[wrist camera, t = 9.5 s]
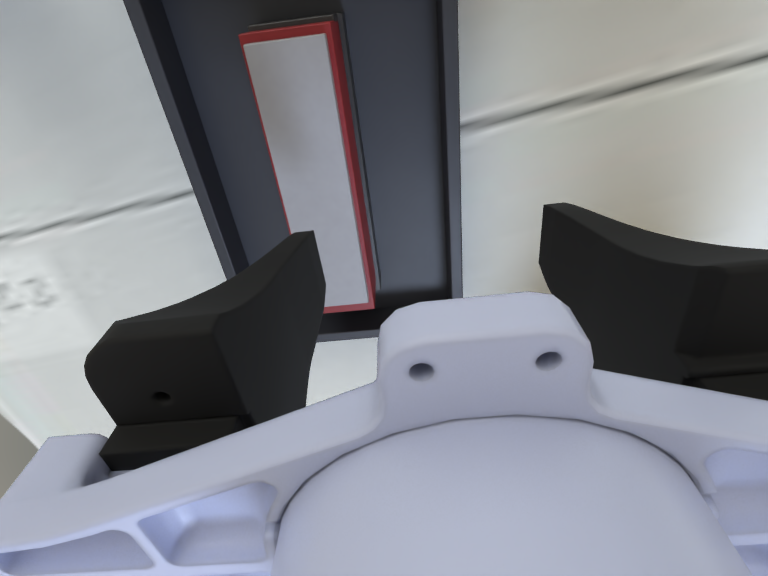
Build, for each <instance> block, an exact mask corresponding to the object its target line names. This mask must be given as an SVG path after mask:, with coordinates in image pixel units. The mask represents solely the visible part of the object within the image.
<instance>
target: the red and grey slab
mask: <svg viewBox="0 0 768 576" xmlns="http://www.w3.org/2000/svg"><path fill="white" fill-rule="evenodd" d="M248 31H249V32H246V33H242V34H239V35H238V36H239V40H240V44H241V48H242V52H243V56H244V60H245V63H246V67H247V71H248V75H249V79H250V83H251V87H252V90H253V94H254V98H255V102H256V106H257V110H258V114H259V117H260V121H261V125H262V129H263V133H264V137H265V141H266V144H267V148H268V152H269V156H270V160H271V164H272V168H273V171H274V175H275V179H276V183H277V187H278V191H279V195H280V198H281V202H282V206H283V210H284V214H285V218H286V222H287V226H288V229H289V233H290V235H291V234H293V233H295V232H303V231H312V230H314V234H315V238H316V243H317V247H318V251H319V256H320V260H321V264H322V268H323V273H324V277H325V281H326V293H325V305H324V311H323V313H334V312H345V311H356V310H367V309H375V290H381V272H380V265H379V258H378V251H377V243H376V236H375V229H374V222H373V215H372V207H371V200H370V193H369V186H368V179H367V171H366V164H365V157H364V150H363V143H362V135H361V128H360V121H359V114H358V107H357V99H356V92H355V85H354V78H353V71H352V63H351V56H350V49H349V42H348V34H347V27H346V20H345V13H344V12H337V13H330V14H323V15H315V16H308V17H301V18H293V19H286V20H279V21H271V22H264V23H257V24H253V25H249V26H248Z"/></svg>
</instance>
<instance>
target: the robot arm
mask: <svg viewBox="0 0 768 576" xmlns="http://www.w3.org/2000/svg"><path fill="white" fill-rule="evenodd" d="M539 265H540V267H541V270H542V273H543V276H544V278H545V281H546V283H547V286H548V288H549V290H550V291H551V293H552V294H544V293H536V292H518V293H508V294H498V295H487V296H477V297H467V298H457V299H446V300H436V301H426V302H418V303H415V304H412V305H409V306H406V307H403V308H400V309H397V310H395V311H394V312H393V313H392V314H391V315H390V316H389V317H388V318H387V319H386V320H385V321H384V322H383V323H382V324H381V327H380V333H379V338H378V347H377V379H376V380H375V381H374V382H373V383H370V384H367V385H364V386H362V387H359V388H356V389H353V390H351V391H348V392H345V393H342V394H340V395H337V396H334V397H331V398H329V399H326V400H323V401H321V402H318V403H315V404H312V405H310V406H307V407H306V397H307V388H308V379H309V371H310V366H311V361H312V356H313V352H314V348H315V344H316V340H317V336H318V332H319V328H320V324H321V320H322V316H323V311H324V305H325V293H326V281H325V277H324V273H323V268H322V264H321V260H320V256H319V251H318V247H317V243H316V238H315V234H314V230H312V231H303V232H295V233H293V234H291V235H290V236H288V237H287V238H286V239H284V240H283V241H282V242H281V243H279V244H278V245H277V246H275V247H274V248H273V249H272V250H270V251H269V252H268V253H267V254H265V255H264V256H263V257H262V258H260V259H259V260H257V261H256V262H255V263H253V264H252V265H250V266H249V267H248V268H246V269H245V270H243V271H242V272H240V273H239V274H237V275H236V276H234V277H232V278H231V279H229V280H227V281H225V282H223V283H222V284H220V285H218V286H216V287H214V288H212V289H210V290H207V291H205V292H203V293H201V294H199V295H197V296H194V297H192V298H190V299H187V300H185V301H182V302H180V303H177V304H174V305H171V306H168V307H165V308H162V309H159V310H156V311H153V312H149V313H146V314H142V315H138V316H134V317H131V318H127V319H123V320H119V321H115V322H114V323H113V324H112V326H111V327H110V328H109V329H108V331H107V332H106V333H105V334H104V335H103V337H102V338H101V339H100V340H99V341H98V343H97V344H96V345H95V346H94V348H93V349H92V350H91V351H90V352H89V354H88V355H87V357H86V361H85V364H84V369H85V376H86V379H87V381H88V383H89V384H90V386H91V388H92V390H93V392H94V393H95V394H96V396H97V397H98V399H99V400H100V402H101V403H102V405H103V406H104V407H105V409H106V410H107V412H108V413H109V415H110V416H111V418H112V419H113V420H114V422H115V423H116V425H117V426H116V428H115V429H114V431H113V432H112V434H111V436H110V437H109V439H108V438H107V437H105V436H102V435H100V434H92V433H91V434H79V435H66V436H54V437H49V438H48V439H47V440H46V441H45V442H44V444H43V445H42V446H41V448H40V449H39V450H38V452H37V453H36V454H35V455H34V457H33V458H32V459H31V461H30V462H29V463H28V464H27V466H26V467H25V468H24V470H23V471H22V472H21V474H20V475H19V476H18V477H17V479H16V480H15V481H14V482H13V484H12V485H11V486H10V488H9V489H8V490H7V492H6V493H5V494H4V495H3V497H2V498H1V499H0V576H768V250H765V249H752V248H740V247H730V246H721V245H714V244H708V243H701V242H695V241H689V240H684V239H679V238H674V237H670V236H666V235H662V234H657V233H654V232H650V231H646V230H643V229H640V228H637V227H634V226H630V225H627V224H624V223H622V222H619V221H616V220H613V219H611V218H608V217H605V216H603V215H600V214H597V213H595V212H592V211H589V210H587V209H584V208H581V207H579V206H576V205H572V204H569V203H556V204H547V205H544V207H543V219H542V230H541V242H540V254H539Z"/></svg>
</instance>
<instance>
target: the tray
mask: <svg viewBox="0 0 768 576" xmlns="http://www.w3.org/2000/svg"><path fill="white" fill-rule="evenodd" d="M123 1H124V4H125V7H126V9H127V12H128V15H129V18H130V20H131V23H132V26H133V28H134V31H135V34H136V36H137V39H138V42H139V44H140V47H141V50H142V53H143V55H144V58H145V61H146V63H147V66H148V69H149V71H150V74H151V77H152V79H153V82H154V85H155V88H156V90H157V93H158V96H159V98H160V101H161V104H162V106H163V109H164V112H165V115H166V117H167V120H168V123H169V125H170V128H171V131H172V133H173V136H174V139H175V141H176V144H177V147H178V150H179V152H180V155H181V158H182V160H183V163H184V166H185V168H186V171H187V174H188V176H189V179H190V182H191V185H192V187H193V190H194V193H195V195H196V198H197V201H198V203H199V206H200V209H201V211H202V214H203V217H204V220H205V222H206V225H207V228H208V230H209V233H210V236H211V238H212V241H213V244H214V246H215V249H216V252H217V255H218V257H219V260H220V263H221V265H222V268H223V271H224V273H225V276H226V279H227V280H229V279H231V278H232V277H234V276H236V275H237V274H239V273H240V272H242V271H243V270H245V269H246V268H248V267H249V266H250V265H252V264H253V263H255V262H256V261H257V260H259V259H260V258H262V257H263V256H264V255H265V254H267V253H268V252H269V251H270V250H272V249H273V248H274V247H275V246H277V245H278V244H279V243H281V242H282V241H283V240H284V239H286V238H287V237H288V236H290V233H289V229H288V226H287V222H286V218H285V214H284V210H283V206H282V202H281V198H280V195H279V191H278V187H277V183H276V179H275V175H274V171H273V168H272V164H271V160H270V156H269V152H268V148H267V144H266V141H265V137H264V133H263V129H262V125H261V121H260V117H259V114H258V110H257V106H256V102H255V98H254V94H253V90H252V87H251V83H250V79H249V75H248V71H247V67H246V63H245V60H244V56H243V52H242V48H241V44H240V40H239V36H238V35H239V34H242V33H246V32H249V31H248V26H249V25H253V24H257V23H264V22H271V21H279V20H286V19H293V18H301V17H308V16H315V15H323V14H330V13H337V12H344V13H345V20H346V27H347V34H348V42H349V49H350V56H351V63H352V71H353V78H354V85H355V92H356V99H357V107H358V114H359V121H360V128H361V135H362V143H363V150H364V157H365V164H366V171H367V179H368V186H369V193H370V200H371V207H372V215H373V222H374V229H375V236H376V243H377V251H378V258H379V265H380V272H381V290H375V309H367V310H356V311H345V312H334V313H323V316H322V320H321V324H320V328H319V332H318V336H317V340H316V342H327V341H338V340H350V339H361V338H372V337H379V333H380V327H381V324H382V323H383V322H384V321H385V320H386V319H387V318H388V317H389V316H390V315H391V314H392V313H393V312H394V311H395V310H397V309H400V308H403V307H406V306H409V305H412V304H415V303H418V302H426V301H436V300H446V299H457V298H463V284H462V225H461V167H460V108H459V49H458V0H123Z"/></svg>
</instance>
